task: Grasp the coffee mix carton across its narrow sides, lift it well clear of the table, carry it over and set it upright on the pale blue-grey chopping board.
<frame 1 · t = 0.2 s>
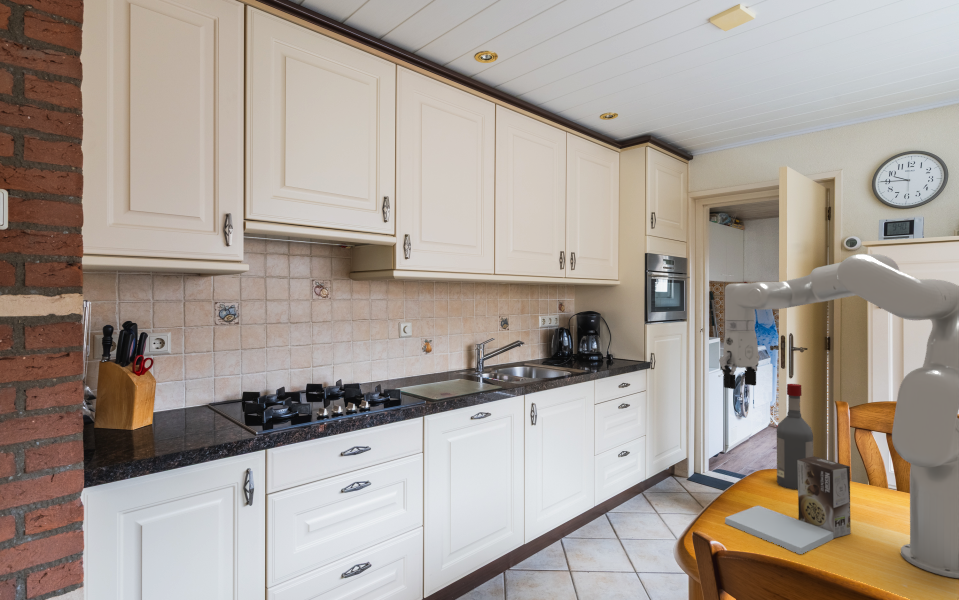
hand: (740, 386, 145), 31 cm above the table, tool pointing down, fingers open, 9 cm apart
liquor: (794, 485, 152), on the table
coffee box: (823, 529, 124), on the table
chopping board: (777, 530, 123), on the table
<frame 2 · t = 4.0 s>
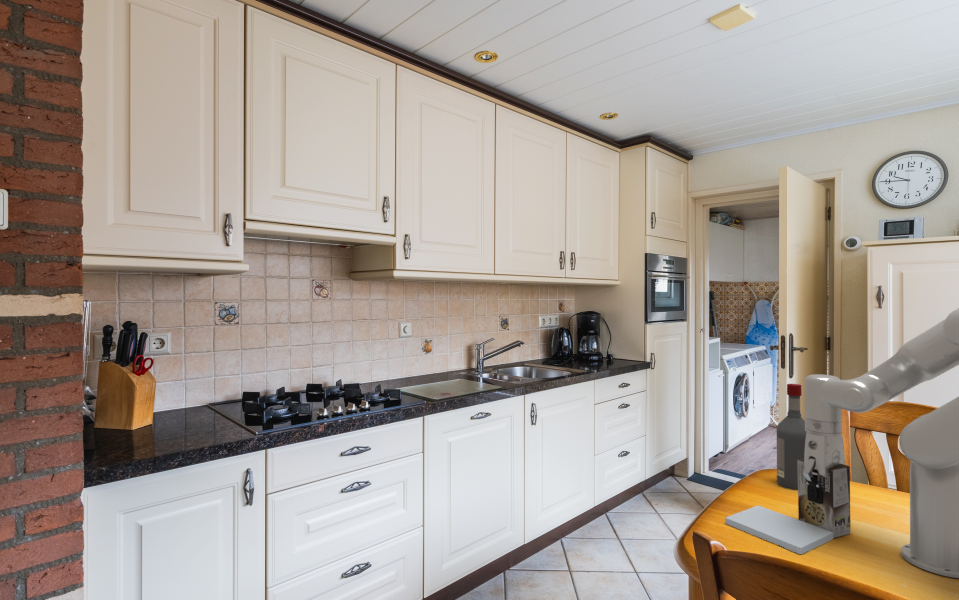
hand: (823, 498, 124), 7 cm above the table, tool pointing down, fingers closed on coffee box, 7 cm apart
coffee box: (823, 528, 124), on the table, touching gripper
everything else where it was.
when the fingers open (10 cm above the table, at t = 10.2 s): coffee box drops 1 cm, resting on chopping board.
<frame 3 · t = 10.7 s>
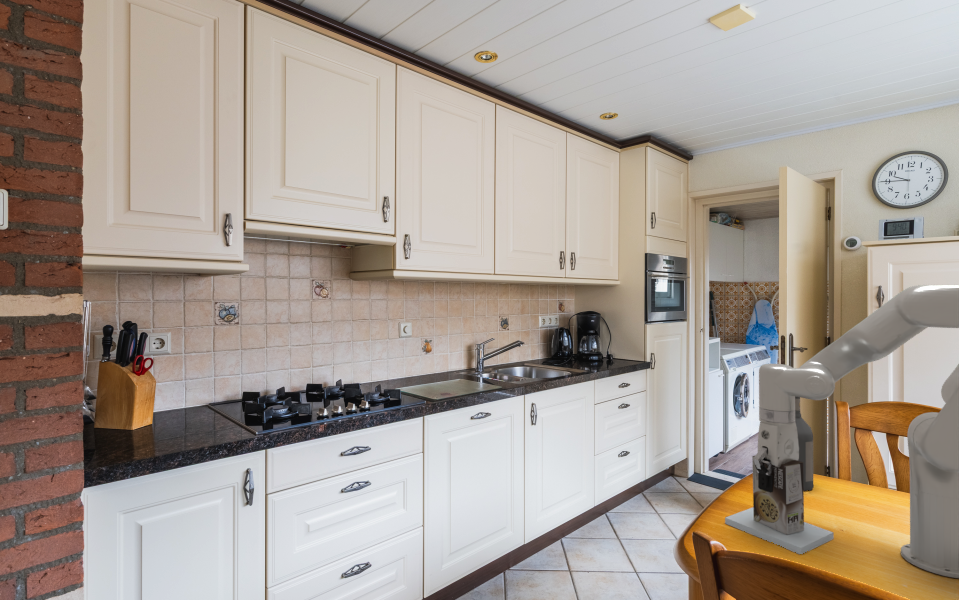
hand: (777, 486, 123), 11 cm above the table, tool pointing down, fingers open, 9 cm apart
coffee box: (778, 525, 123), point 1 cm above the table, touching chopping board
everything else where it was.
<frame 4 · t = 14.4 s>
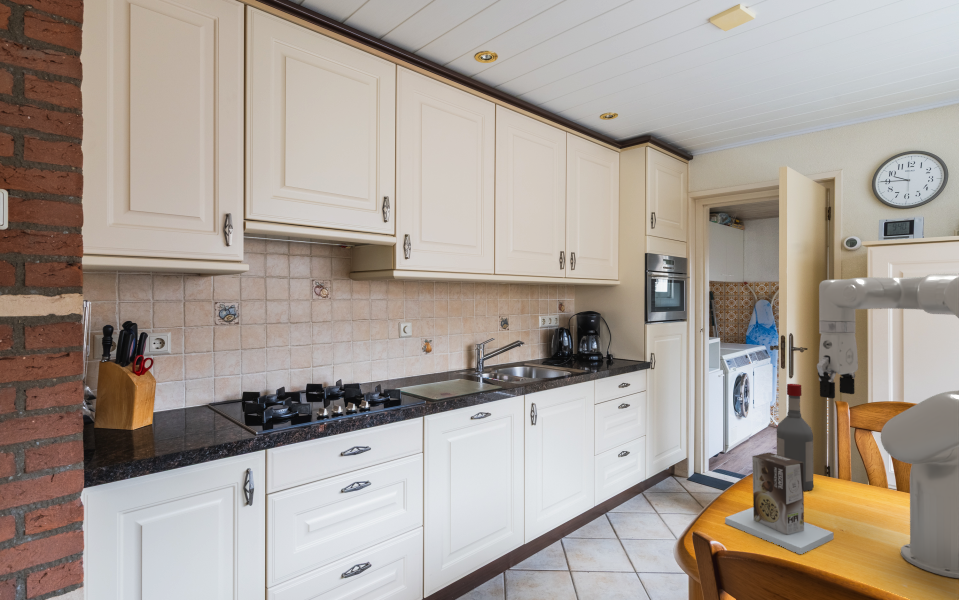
hand: (837, 395, 129), 31 cm above the table, tool pointing down, fingers open, 9 cm apart
nothing on the table moved.
at the end: coffee box inside the target area on the chopping board (0.2 cm from its centre), point 1.3 cm above the chopping board's base; coffee box tilted 0°; the gripper is holding nothing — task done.
